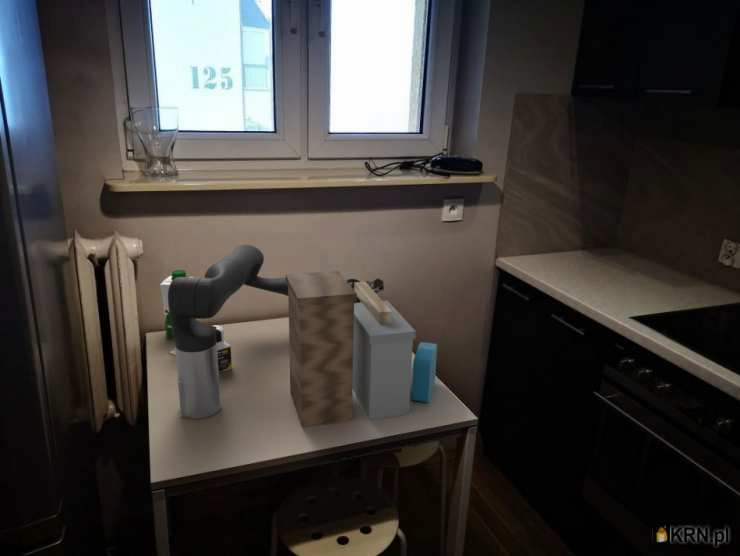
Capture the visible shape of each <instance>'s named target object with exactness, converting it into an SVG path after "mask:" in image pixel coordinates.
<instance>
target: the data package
mask: <svg viewBox="0 0 740 556" xmlns="http://www.w3.org/2000/svg"><path fill="white" fill-rule="evenodd" d="M437 354H438V344H437V343H433V342H432V343H431V342H424V341H423V342H422V341H420V342H419V344H418V347H417V350H416V352H415V355H414V357H413V363H412V376H411V378H412V380H411V382H412V383H411V393H410V399H411V401H415V402H421V403H427V404H428V403H430V401H431V397H432V393H433V391H434V390H433V389H434V386H435V382H436V372H437V371H436V369H437V368H436V367H437V356H438V355H437Z"/></svg>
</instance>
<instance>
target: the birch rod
mask: <svg viewBox="0 0 740 556" xmlns="http://www.w3.org/2000/svg"><path fill="white" fill-rule="evenodd" d="M354 291H355V292H356V293H357V297H358V298H359V300H360V301H361V302H360V303H363V305H364V306H365V307H366V308H367V310H368V311H369V312H370V313H371V315H372V316H373V317H374V318H375V320H376V321H377V322H378V323H379V324H385V323H391V312H392V311H391V310H390V309H389V308H388V307H387V306H386V305H385V303H384V302H383V301H384V300H382V299H381V298H380V297H379V295H378V293H375V292H374V291H373V290H372V289H371V288H370V287H369V286H368V284H367V283H366V282H364V281H360V282H354Z"/></svg>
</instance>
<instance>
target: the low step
mask: <svg viewBox="0 0 740 556" xmlns="http://www.w3.org/2000/svg"><path fill="white" fill-rule="evenodd" d="M382 301H383V302H384V303H385V305H386V306H387V307H388V308H389V309H390V310H391V311H392V312H391V323H385V324H379V323H378V322H377V321H376V320H375V318H374V317H373V316H372V315H371V313H370V312H369V311H368V310H367V308H366V307H365V306H364V305H363V303H362V302H360V303H354V339H353V390H352V392H353V394H354V395H355V397H356V398H357V400H358V402H359V403H360V405H361V408H362V410H363V411H364V414H365V415H366V417H367V419H368V421H371V420H372V421H373V420H378V419H385V418H392V417H398V416H399V417H401V416H406V415H409V413H410V399H411V382H412V380H411V378H412V365H413V363H412V361H413V359H412V358H413V347H414V346H413V344H414V341H413V340H416V334H417V333H416V329H414V328H413V326H411V324H410V323H409V322H408V321H407V320H406V319H405V318H404V317H403V316H402V314H401V313H400V312H399V311H398V310H397V309H396V308H395V307H394V306H393V305H392V304H391V302H389V300H382Z"/></svg>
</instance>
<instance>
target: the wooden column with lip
mask: <svg viewBox="0 0 740 556" xmlns="http://www.w3.org/2000/svg"><path fill="white" fill-rule="evenodd" d="M285 277H286V284H287V286H288V296H287V297H288V336H289V337H288V338H289V339H288V340H289V343H288V346H289V350H288V351H289V384H290V385H289V386H290V388H289V390H290V391H289V394H290V396H291V400H292V402H293V406H294V408H295V411H296V414H297V417H298V421H299V423H300V427H301V428H308V427H315V426H322V425H329V424H335V423H336V424H337V423H342V422H350V421H353V339H354V302H357V293H356V292H355V291H354V289H353V288H352V287H351V286H350V284H349V283H348V282H347V281H346V280H347V279H346V278H345V277H344V276H343V275H342V273H341V272H340V271H339V270H334V271H320V272H319V271H317V272H306V273H305V272H303V273H291V274H288V273H287V274H285Z"/></svg>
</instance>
